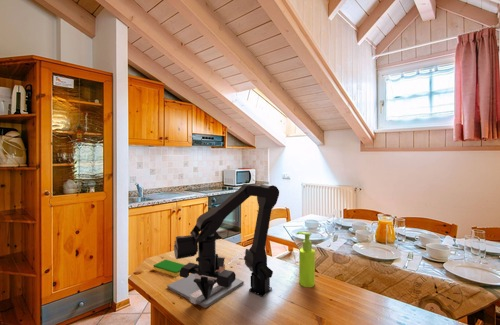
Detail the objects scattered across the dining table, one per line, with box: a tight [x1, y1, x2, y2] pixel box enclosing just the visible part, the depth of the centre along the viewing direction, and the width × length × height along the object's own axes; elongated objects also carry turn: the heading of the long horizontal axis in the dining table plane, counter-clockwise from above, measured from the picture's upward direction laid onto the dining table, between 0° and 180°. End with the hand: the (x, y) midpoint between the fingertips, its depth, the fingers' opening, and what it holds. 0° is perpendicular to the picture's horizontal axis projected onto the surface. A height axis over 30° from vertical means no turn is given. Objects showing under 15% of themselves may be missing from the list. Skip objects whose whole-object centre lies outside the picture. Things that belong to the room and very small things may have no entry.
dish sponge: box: [152, 259, 186, 278], centre depth 113 cm, size 7×14×2 cm, turn 61°
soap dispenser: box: [296, 230, 316, 288], centre depth 101 cm, size 6×7×20 cm
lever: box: [189, 282, 232, 305], centre depth 94 cm, size 18×5×3 cm, turn 142°
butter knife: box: [227, 253, 243, 265], centre depth 119 cm, size 1×27×3 cm
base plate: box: [166, 273, 244, 309], centre depth 100 cm, size 21×20×1 cm
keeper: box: [216, 263, 226, 273], centre depth 104 cm, size 4×8×4 cm, turn 143°
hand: (207, 298), depth 87 cm, fingers closed
